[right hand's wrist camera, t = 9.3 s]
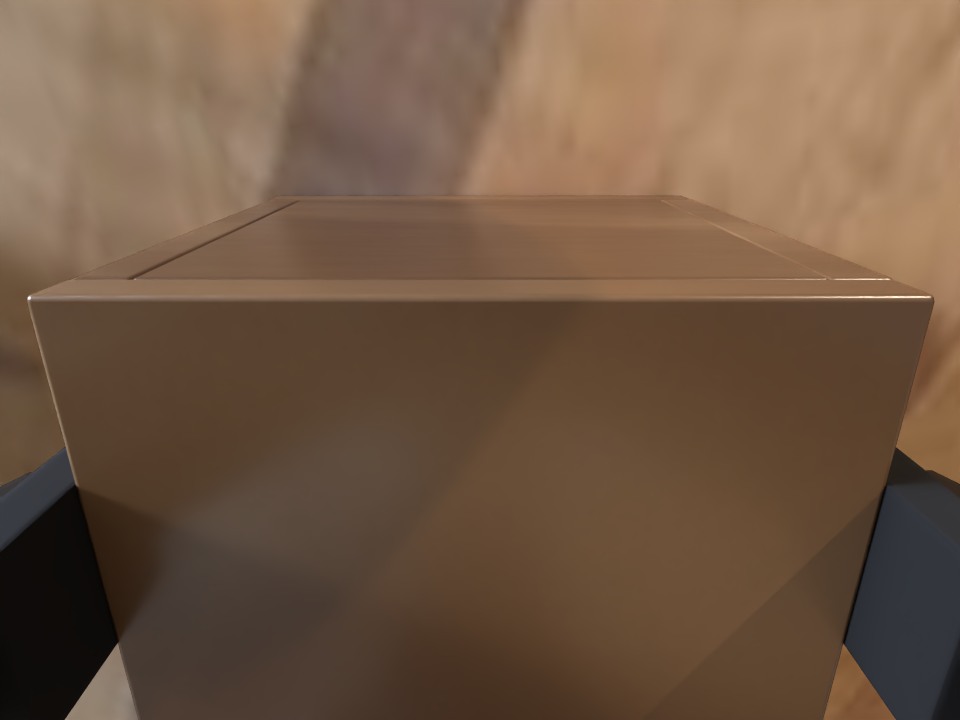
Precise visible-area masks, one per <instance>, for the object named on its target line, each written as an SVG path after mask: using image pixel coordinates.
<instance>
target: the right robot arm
mask: <svg viewBox="0 0 960 720" xmlns="http://www.w3.org/2000/svg"><path fill="white" fill-rule="evenodd" d="M117 643H118V641H117V638H116V634H115V630H114V626H113V623H112V619H111V615H110V611H109V608H108V604H107V600H106V596H105V593H104V589H103V585H102V581H101V578H100V574H99V570H98V566H97V563H96V559H95V555H94V551H93V548H92V544H91V540H90V536H89V533H88V529H87V525H86V521H85V518H84V514H83V510H82V506H81V503H80V499H79V495H78V491H77V488H76V484H75V480H74V476H73V473H72V469H71V465H70V461H69V458H68V454H67V450H66V447H64V448H63V449H62V450H61V451H59V452H58V453H57V454H56V455H54V456H53V457H52V458H51V459H49V460H48V461H47V462H46V463H44V464H43V465H42V466H41V467H39V468H38V469H37V470H36V471H34V472H33V473H28V474H26V475H24V476H21V477H19V478H17V479H15V480H13V481H11V482H9V483H7V484H5V485H3V486H1V487H0V720H65V718H66V717H67V715H68V714H69V713H70V711H71V710H72V708H73V707H74V705H75V704H76V702H77V701H78V700H79V698H80V697H81V695H82V694H83V692H84V691H85V689H86V688H87V686H88V685H89V684H90V682H91V681H92V679H93V678H94V676H95V675H96V673H97V672H98V671H99V669H100V668H101V666H102V665H103V663H104V662H105V660H106V659H107V657H108V656H109V655H110V653H111V652H112V650H113V649H114V647H115V646H116V644H117ZM843 643H844V645H845V646H846V648H847V649H848V651H849V652H850V654H851V655H852V656H853V658H854V659H855V661H856V662H857V664H858V665H859V667H860V668H861V670H862V671H863V672H864V674H865V675H866V677H867V678H868V680H869V681H870V683H871V684H872V685H873V687H874V688H875V690H876V691H877V693H878V694H879V696H880V697H881V699H882V700H883V701H884V703H885V704H886V706H887V707H888V709H889V710H890V712H891V713H892V714H893V716H894V717H895V719H896V720H960V484H959V483H957V482H955V481H953V480H951V479H949V478H946V477H944V476H942V475H940V474H938V473H936V472H934V471H932V470H924V469H923V468H921V467H920V466H919V465H918V464H916V463H915V462H914V461H913V460H911V459H910V458H909V457H908V456H906V455H905V454H904V453H903V452H901V451H900V450H899V449H898V448H896V447H895V451H894V455H893V459H892V462H891V466H890V470H889V474H888V477H887V481H886V485H885V489H884V492H883V496H882V500H881V504H880V507H879V511H878V515H877V519H876V522H875V526H874V530H873V534H872V537H871V541H870V545H869V549H868V552H867V556H866V560H865V564H864V567H863V571H862V575H861V579H860V582H859V586H858V590H857V594H856V597H855V601H854V605H853V609H852V612H851V616H850V620H849V624H848V627H847V631H846V635H845V639H844V642H843Z"/></svg>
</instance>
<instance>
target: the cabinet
mask: <svg viewBox="0 0 960 720" xmlns="http://www.w3.org/2000/svg"><path fill="white" fill-rule="evenodd" d="M27 304H28V308H29V311H30V315H31V319H32V323H33V326H34V330H35V334H36V338H37V341H38V345H39V349H40V353H41V356H42V360H43V364H44V368H45V371H46V375H47V379H48V383H49V386H50V390H51V394H52V398H53V401H54V405H55V409H56V413H57V416H58V420H59V424H60V428H61V431H62V435H63V439H64V443H65V446H66V450H67V454H68V458H69V461H70V465H71V469H72V473H73V476H74V480H75V484H76V488H77V491H78V495H79V499H80V503H81V506H82V510H83V514H84V518H85V521H86V525H87V529H88V533H89V536H90V540H91V544H92V548H93V551H94V555H95V559H96V563H97V566H98V570H99V574H100V578H101V581H102V585H103V589H104V593H105V596H106V600H107V604H108V608H109V611H110V615H111V619H112V623H113V626H114V630H115V634H116V638H117V641H118V645H119V649H120V653H121V656H122V660H123V664H124V668H125V671H126V675H127V679H128V683H129V686H130V690H131V694H132V698H133V701H134V705H135V709H136V713H137V716H138V720H823V717H824V713H825V710H826V706H827V702H828V699H829V695H830V691H831V687H832V684H833V680H834V676H835V672H836V669H837V665H838V661H839V657H840V654H841V650H842V646H843V642H844V639H845V635H846V631H847V627H848V624H849V620H850V616H851V612H852V609H853V605H854V601H855V597H856V594H857V590H858V586H859V582H860V579H861V575H862V571H863V567H864V564H865V560H866V556H867V552H868V549H869V545H870V541H871V537H872V534H873V530H874V526H875V522H876V519H877V515H878V511H879V507H880V504H881V500H882V496H883V492H884V489H885V485H886V481H887V477H888V474H889V470H890V466H891V462H892V459H893V455H894V451H895V447H896V444H897V440H898V436H899V432H900V429H901V425H902V421H903V417H904V414H905V410H906V406H907V402H908V399H909V395H910V391H911V387H912V384H913V380H914V376H915V372H916V369H917V365H918V361H919V358H920V354H921V350H922V346H923V343H924V339H925V335H926V331H927V328H928V324H929V320H930V316H931V313H932V309H933V305H934V297H933V296H932V295H930V294H928V293H925V292H923V291H920V290H918V289H915V288H913V287H910V286H908V285H905V284H902V283H900V282H897V281H895V280H892V279H891V278H890V277H887V276H885V275H882V274H880V273H877V272H874V271H872V270H869V269H867V268H864V267H862V266H859V265H857V264H854V263H852V262H849V261H847V260H844V259H841V258H839V257H836V256H834V255H831V254H829V253H826V252H824V251H821V250H819V249H816V248H814V247H811V246H808V245H806V244H803V243H801V242H798V241H796V240H793V239H791V238H788V237H786V236H783V235H781V234H778V233H775V232H773V231H770V230H768V229H765V228H763V227H760V226H758V225H755V224H753V223H750V222H747V221H745V220H742V219H740V218H737V217H735V216H732V215H730V214H727V213H725V212H722V211H720V210H717V209H714V208H712V207H709V206H707V205H704V204H702V203H699V202H697V201H694V200H690V199H688V198H685V197H683V196H279V197H276V198H274V199H271V200H269V201H266V202H264V203H261V204H259V205H256V206H254V207H251V208H249V209H246V210H244V211H241V212H239V213H236V214H234V215H231V216H229V217H226V218H224V219H221V220H218V221H216V222H213V223H211V224H208V225H206V226H203V227H201V228H198V229H196V230H193V231H191V232H188V233H186V234H183V235H181V236H178V237H176V238H173V239H171V240H168V241H165V242H163V243H160V244H158V245H155V246H153V247H150V248H148V249H145V250H143V251H140V252H138V253H135V254H133V255H130V256H128V257H125V258H123V259H120V260H118V261H115V262H112V263H110V264H107V265H105V266H102V267H100V268H97V269H95V270H92V271H90V272H87V273H85V274H82V275H80V276H77V277H75V278H73V279H72V280H66V281H64V282H61V283H59V284H56V285H54V286H51V287H49V288H46V289H44V290H41V291H38V292H36V293H33V294H31V295H29V296H28V298H27Z"/></svg>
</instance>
